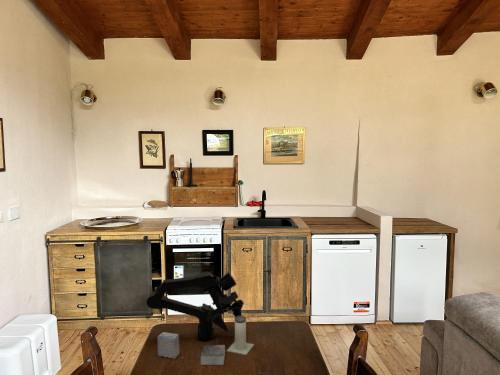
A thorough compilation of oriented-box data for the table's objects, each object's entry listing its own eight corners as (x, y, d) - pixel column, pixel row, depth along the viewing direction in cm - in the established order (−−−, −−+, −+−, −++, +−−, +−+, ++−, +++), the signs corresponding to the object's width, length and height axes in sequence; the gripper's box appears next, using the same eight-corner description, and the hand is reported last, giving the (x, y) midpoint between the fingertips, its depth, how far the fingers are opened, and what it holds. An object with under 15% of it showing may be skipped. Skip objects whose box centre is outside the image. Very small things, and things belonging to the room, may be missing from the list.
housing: (203, 353, 151) (203, 345, 151) (225, 353, 151) (224, 345, 151) (200, 365, 142) (200, 356, 142) (223, 364, 142) (223, 356, 142)
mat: (226, 351, 153) (226, 350, 153) (235, 341, 161) (235, 340, 161) (246, 355, 150) (246, 354, 150) (253, 345, 158) (253, 344, 158)
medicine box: (179, 354, 151) (179, 334, 151) (174, 359, 147) (173, 338, 146) (163, 351, 154) (163, 331, 153) (157, 356, 150) (157, 336, 149)
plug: (235, 350, 153) (235, 320, 152) (234, 344, 158) (234, 316, 157) (246, 349, 153) (246, 319, 153) (245, 344, 158) (245, 315, 158)
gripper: (209, 292, 153) (227, 325, 146) (240, 282, 166) (258, 311, 159) (198, 306, 159) (215, 338, 152) (229, 294, 172) (246, 323, 165)
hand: (234, 327), depth 157 cm, fingers open, 9 cm apart
